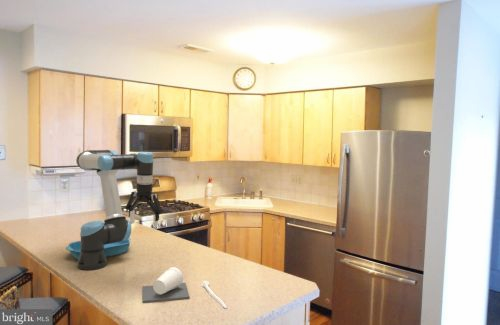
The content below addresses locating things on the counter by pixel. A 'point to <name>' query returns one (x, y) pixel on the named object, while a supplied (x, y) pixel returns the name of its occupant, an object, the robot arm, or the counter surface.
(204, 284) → the white long knobbed rod
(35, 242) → the counter surface
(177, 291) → the mat
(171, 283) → the foam cup
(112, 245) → the casserole dish
